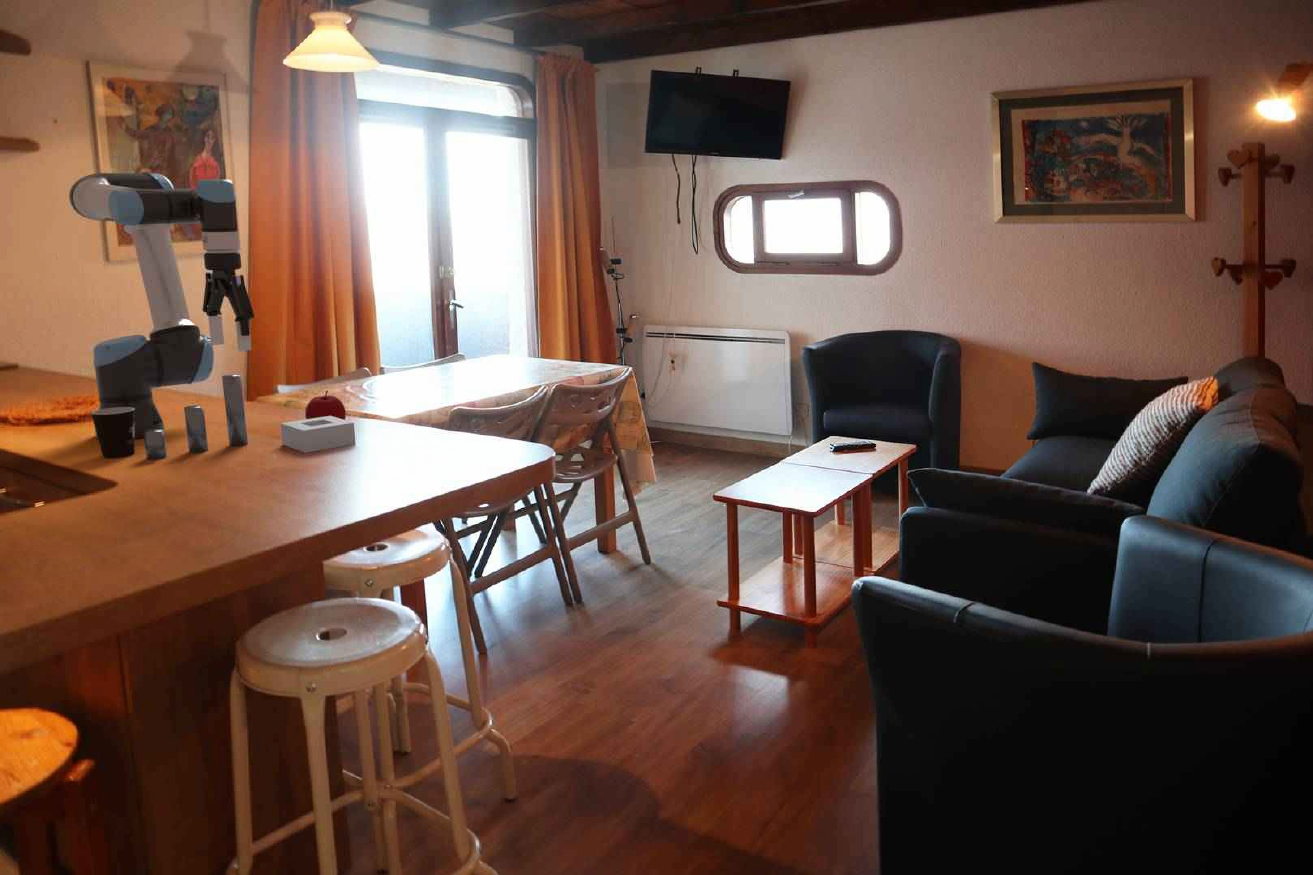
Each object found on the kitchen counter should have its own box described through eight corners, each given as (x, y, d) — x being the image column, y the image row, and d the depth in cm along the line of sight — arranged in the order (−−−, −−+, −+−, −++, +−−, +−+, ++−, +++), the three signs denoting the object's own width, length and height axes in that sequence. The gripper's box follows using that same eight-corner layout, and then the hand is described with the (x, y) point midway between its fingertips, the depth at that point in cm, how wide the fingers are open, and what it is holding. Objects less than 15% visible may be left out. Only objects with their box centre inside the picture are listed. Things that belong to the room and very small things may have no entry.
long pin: (226, 444, 247) (219, 375, 244) (244, 441, 250) (236, 373, 247) (233, 447, 244) (226, 377, 241) (250, 444, 247) (243, 375, 244)
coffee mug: (122, 460, 234) (117, 414, 232) (88, 459, 235) (82, 414, 233) (157, 448, 245) (152, 405, 243) (123, 447, 247) (118, 404, 244)
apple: (341, 425, 267) (337, 385, 264) (351, 431, 259) (348, 390, 257) (303, 430, 262) (299, 389, 260) (312, 436, 254) (308, 394, 252)
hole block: (282, 444, 246) (280, 423, 245) (332, 436, 254) (330, 415, 253) (305, 452, 237) (303, 430, 236) (355, 444, 245) (353, 422, 244)
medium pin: (186, 450, 241) (181, 407, 239) (204, 448, 244) (199, 404, 242) (192, 453, 239) (187, 409, 236) (211, 450, 241) (206, 406, 239)
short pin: (144, 457, 236) (140, 431, 234) (163, 454, 238) (160, 428, 237) (150, 460, 233) (146, 433, 231) (169, 457, 235) (166, 430, 234)
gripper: (180, 250, 242) (190, 343, 247) (230, 254, 225) (240, 355, 230) (213, 248, 247) (222, 340, 252) (264, 252, 230) (273, 351, 235)
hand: (231, 347), depth 241 cm, fingers open, 13 cm apart
